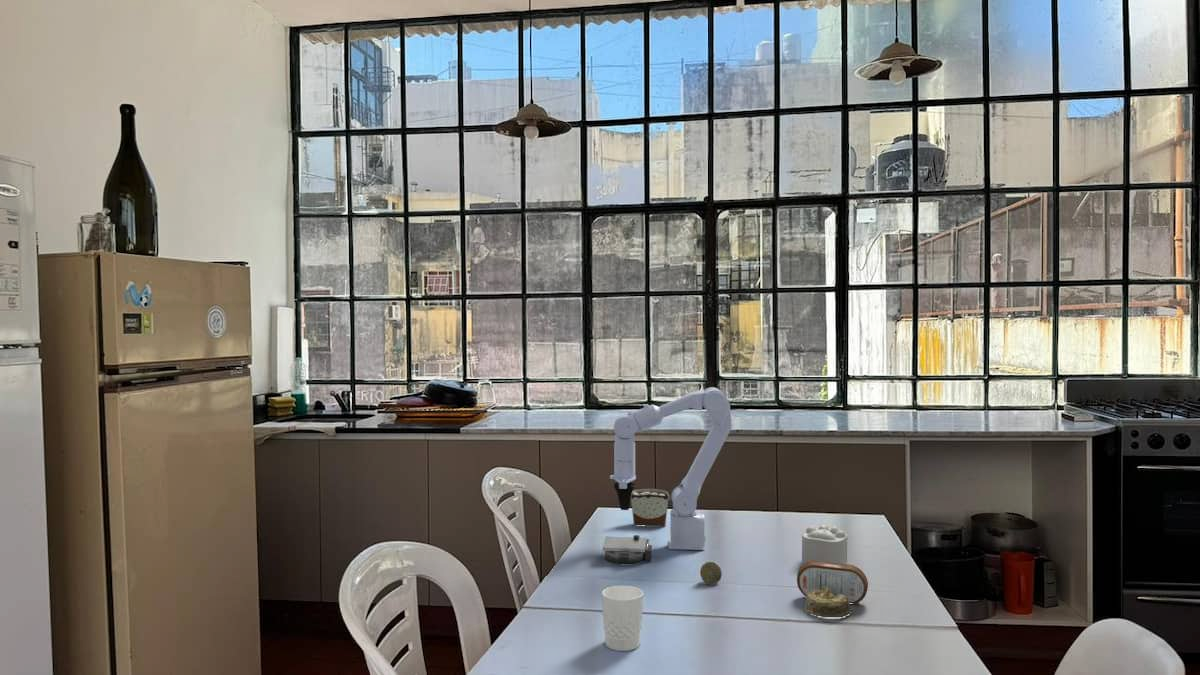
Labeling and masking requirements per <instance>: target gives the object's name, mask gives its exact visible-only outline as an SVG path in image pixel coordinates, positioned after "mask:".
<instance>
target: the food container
mask: <svg viewBox="0 0 1200 675" xmlns="http://www.w3.org/2000/svg"><path fill="white" fill-rule="evenodd" d="M669 501H671V495H670V494H669V492H668V491H666V490H664V489H657V488H641V489H633V491H632V494H631V500H630V504H631V512H632V519H633V520H632V521H633V526H634V525H645V526H644V527H652V526H665V527H666V524H667V516H668V514H667V513H668V504H669Z"/></svg>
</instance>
